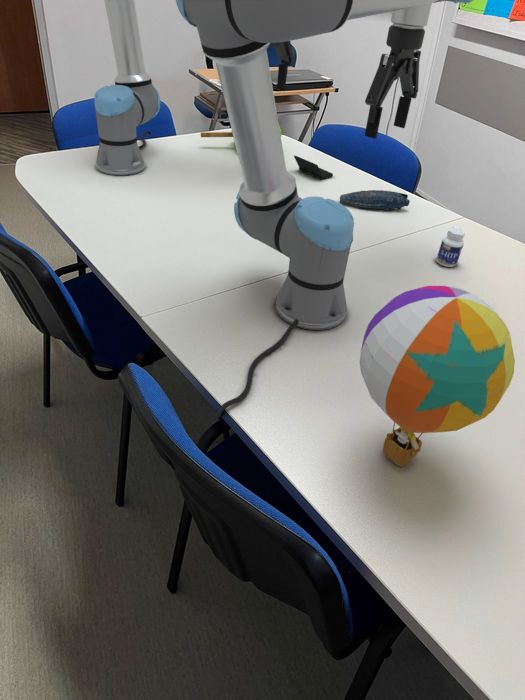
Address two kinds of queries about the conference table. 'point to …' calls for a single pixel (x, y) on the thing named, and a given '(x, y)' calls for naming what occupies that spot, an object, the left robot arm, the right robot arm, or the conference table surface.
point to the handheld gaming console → (312, 168)
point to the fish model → (376, 199)
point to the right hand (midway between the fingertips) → (385, 131)
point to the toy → (435, 364)
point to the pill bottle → (451, 247)
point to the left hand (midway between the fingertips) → (267, 91)
